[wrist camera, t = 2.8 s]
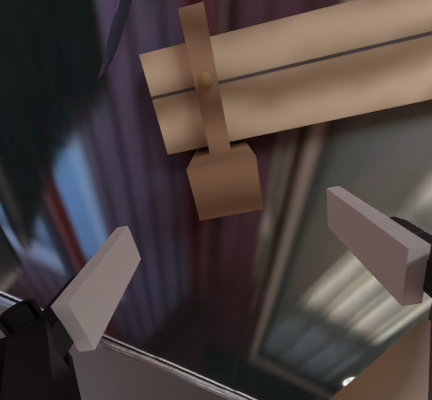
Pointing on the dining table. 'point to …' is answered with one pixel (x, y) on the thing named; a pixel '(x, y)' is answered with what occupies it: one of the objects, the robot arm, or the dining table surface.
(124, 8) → the knife
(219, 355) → the dining table surface
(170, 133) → the board
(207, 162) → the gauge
